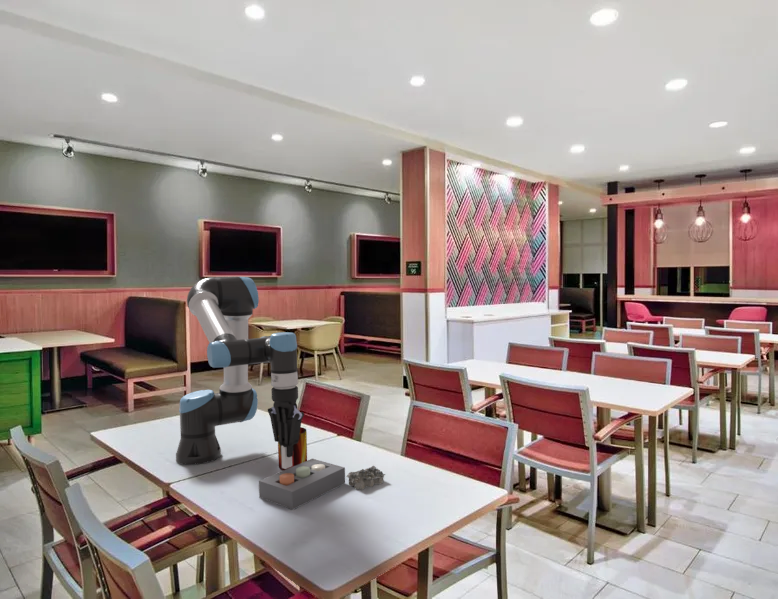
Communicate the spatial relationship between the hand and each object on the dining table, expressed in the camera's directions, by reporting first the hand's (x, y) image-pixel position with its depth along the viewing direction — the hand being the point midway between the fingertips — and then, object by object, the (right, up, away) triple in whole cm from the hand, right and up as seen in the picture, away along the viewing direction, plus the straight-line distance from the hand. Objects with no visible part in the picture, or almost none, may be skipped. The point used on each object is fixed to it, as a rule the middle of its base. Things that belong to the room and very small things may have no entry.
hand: (287, 466), depth 152 cm
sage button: (+4, -6, +6) cm, 9 cm away
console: (+4, -9, +6) cm, 11 cm away
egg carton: (+22, -9, +11) cm, 26 cm away
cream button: (+8, -7, +11) cm, 15 cm away
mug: (-2, -8, +25) cm, 26 cm away
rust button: (0, -6, 0) cm, 6 cm away
